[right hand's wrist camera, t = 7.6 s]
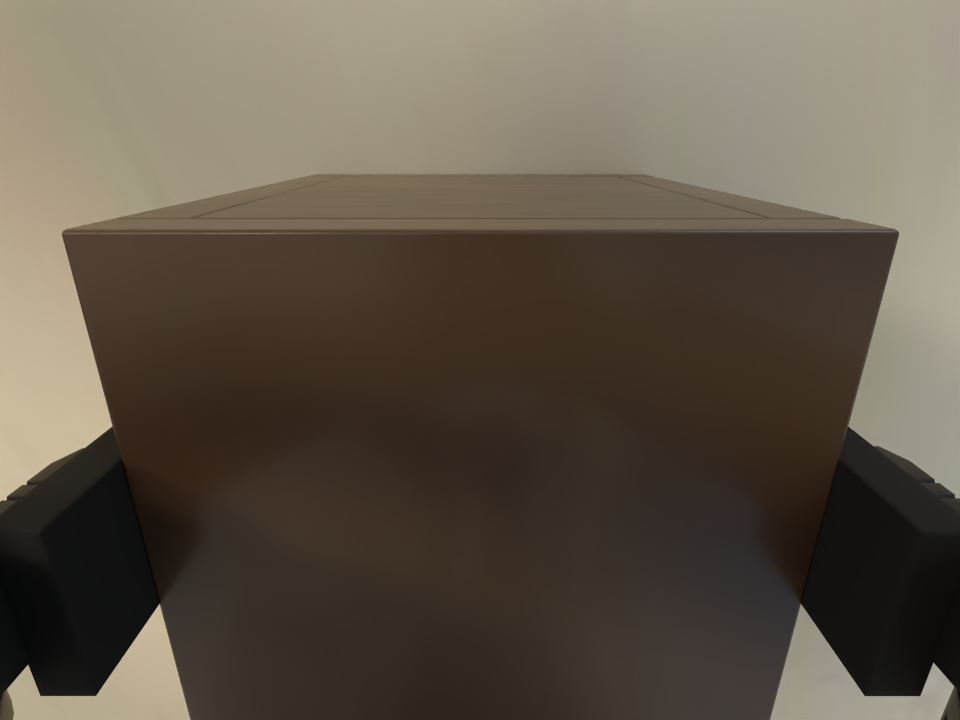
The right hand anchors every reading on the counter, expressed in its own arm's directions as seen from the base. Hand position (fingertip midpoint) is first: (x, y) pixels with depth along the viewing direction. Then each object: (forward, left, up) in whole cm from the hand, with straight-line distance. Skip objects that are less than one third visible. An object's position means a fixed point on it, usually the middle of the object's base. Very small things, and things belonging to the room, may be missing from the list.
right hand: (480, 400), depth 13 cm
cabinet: (+3, -4, -7) cm, 9 cm away
